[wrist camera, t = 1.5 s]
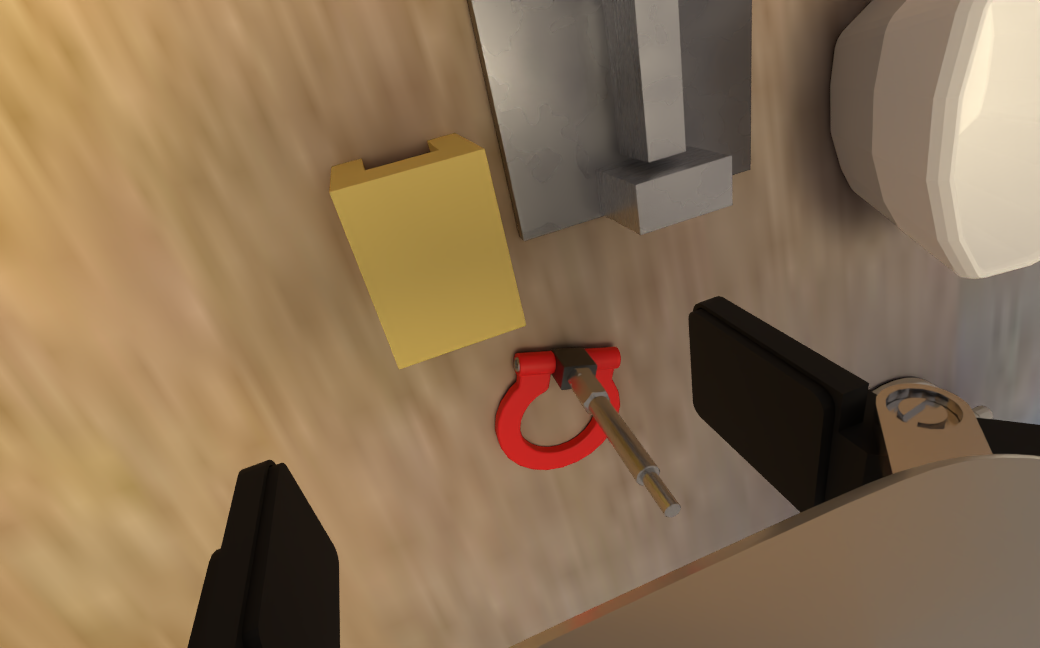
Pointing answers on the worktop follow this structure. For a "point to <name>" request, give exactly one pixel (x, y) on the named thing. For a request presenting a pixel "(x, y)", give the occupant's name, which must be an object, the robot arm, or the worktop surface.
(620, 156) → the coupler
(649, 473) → the tow hook
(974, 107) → the bowl
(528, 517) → the worktop surface
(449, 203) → the notched yellow block
